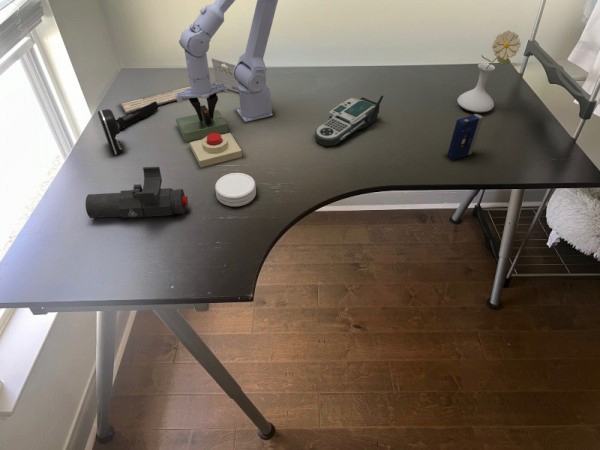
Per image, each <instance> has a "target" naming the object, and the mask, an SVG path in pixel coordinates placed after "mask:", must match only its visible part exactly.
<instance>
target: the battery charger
mask: <svg viewBox="0 0 600 450" xmlns="http://www.w3.org/2000/svg"><path fill="white" fill-rule="evenodd" d="M97 115H98V118H99V121H100V124H101V127H102V129H103V131H104V132H103V133H104V135H105V139H106V141H107V144H108V147H109V149H110V152H111V154H112V155H113V156H116V155H119V154H122V153H123V152H124V148H123V145H122V144H121V141H120V140H118V139H116V137H117V135H119V134H120V133H121V130H119V127H118V124H117V122H116V120H117V119H116V117H115V114H114V112H113V111H112V110H111V109H109V108H107V109H103V110H102V109H100V110H98V111H97Z"/></svg>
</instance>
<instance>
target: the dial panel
mask: <svg viewBox="0 0 600 450" xmlns="http://www.w3.org/2000/svg"><path fill="white" fill-rule="evenodd" d="M175 120H176V125H177V128H178V130H179V132H180V134H181V136H182V138H183V140H184V142H185V143H188V142H194V141H198V140H202V139H203V138H205V137H206V136H208V135H209V134H211V133H218V134H220V135H223V134H227V133H229V129H228V123H227V122H226V120H225V118H224V117H223V116H222V114H221V113H220V111H219V110H218V109H214V116H213V119H211V123H210V124H206V123H205V122H204V120H203V121H200V120H199V118H198V115H197V113H196V114H193V115H187V116H183V117H178V118H176V119H175Z"/></svg>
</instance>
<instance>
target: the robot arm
mask: <svg viewBox="0 0 600 450" xmlns="http://www.w3.org/2000/svg"><path fill="white" fill-rule="evenodd" d="M235 1H236V0H215V1H214V3H212V4H207V5H205V6H204V7H201V8H200V9H199V12H200V13H199V14H198V15H197V17H196V19H194V21H193V22H192V23H191V24H190V25H189V26H188V27H189V28H186V29H184V30H183V31H181V34H180V37H179V40H178V44H179V45H180V46H181V48H182V49H183V50H184V57H185V64H186V68H187V74H188V79H189V85H190V86H189V87H191V88H190V89H187V90H185V91H182V92H179V93H176V98H177V100H176V102H177V103H178V104H179V103H182V102H183V101H189V103H190V104H191V106H192V107H193V109H194V110H195V112H196V114H197V115H198V118H199V120H200V121H203V118H202V114H201V107H200V106H201V101H200V100H199V98H201V99H206V104H207V109H208V111H209V112H210V118H211V119H213V116H214V110H216V106H217V103H218V102H219V96H218V95H217V94H222V93H223V94H227V93H228V89H227V86H226V85H225V84H215V83H214V84H211V83H212V81H211V76H210V67H209V61H208V55H207V53H208V52H209V49H210V42H211V41H212V38H213V37H214V36H215V34H216V33H217V32H218V31H219V29H220V28H221V26H222V25H223V24H224V22H225V13H226V12H227V11H228V9H229V8H230V7H231V6H232V5H233V4H234V3H235ZM278 2H279V0H256V4H255V8H254V13H253V17H252V20H251V21H252V22H251V26H250V30H249V34H248V38H247V43H246V47H245V51H244V53H243V54H241V55H240V56H239V58H238V61H237V63H236V64H235V65H236V66H235V68H234V71H233V75H234V78H235V79H236V80H237V81H238V88H239V93H238V96H239V108H237V109H236V112H237V113H238V115H239V116H240V117H241V119H242V121H243V122H245V123H246V122H247V123H248V122H251V121H257V120H260V119H265V118H268V117H272V116H273V115H274V114H273V111H272V94H271V90H270V87H269V86H268V84H266V83H267V78H266V72H267V66H266V64H265V60H264V57H265V52H266V49H267V45H268V41H269V37H270V33H271V29H272V26H273V21H274V18H275V13H276V10H277V6H278Z"/></svg>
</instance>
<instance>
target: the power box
mask: <svg viewBox="0 0 600 450" xmlns="http://www.w3.org/2000/svg"><path fill="white" fill-rule="evenodd" d="M220 135H221V138H222V143H221V144H219V145H215V146H211V145H208V143H207V136H206V137H205V138H201V139H197V140H193V141H189V146H190V150H191V151H192V154H193V155H194V157H195V159H196V161H197V163H198V166H199V167H200V168H206V167H209V166H212V165H216V164H220V163H224V162H228V161H232V160H235V159H236V160H237V159H239V158H243V151H242V149H241V147H240V146H239V144H238V142H237V141H236V140H235V138H234V136H233V135H232V134H231V133H230V132H226V133H222V134H220Z"/></svg>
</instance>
